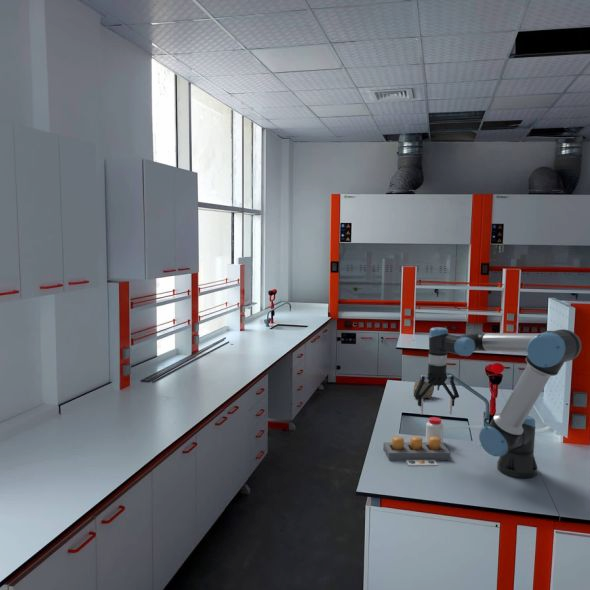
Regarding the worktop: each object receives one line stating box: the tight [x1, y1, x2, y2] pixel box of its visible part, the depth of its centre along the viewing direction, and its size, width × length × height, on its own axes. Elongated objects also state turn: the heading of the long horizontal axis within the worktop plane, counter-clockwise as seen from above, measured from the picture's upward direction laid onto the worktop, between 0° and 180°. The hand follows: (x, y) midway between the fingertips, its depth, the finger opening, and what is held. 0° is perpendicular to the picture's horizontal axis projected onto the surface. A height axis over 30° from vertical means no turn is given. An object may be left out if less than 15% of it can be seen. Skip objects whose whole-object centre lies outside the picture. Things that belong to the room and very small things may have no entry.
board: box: [383, 441, 451, 461], centre depth 240 cm, size 26×12×3 cm, turn 92°
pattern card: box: [405, 460, 438, 467], centre depth 231 cm, size 12×5×1 cm, turn 92°
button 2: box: [428, 437, 441, 450], centre depth 240 cm, size 5×5×4 cm
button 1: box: [391, 436, 405, 450], centre depth 240 cm, size 5×5×4 cm
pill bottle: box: [425, 416, 445, 444], centre depth 254 cm, size 8×8×11 cm
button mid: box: [409, 436, 423, 450], centre depth 240 cm, size 5×5×4 cm
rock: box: [412, 381, 435, 399], centre depth 325 cm, size 11×12×10 cm
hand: (435, 413), depth 239 cm, fingers open, 12 cm apart
